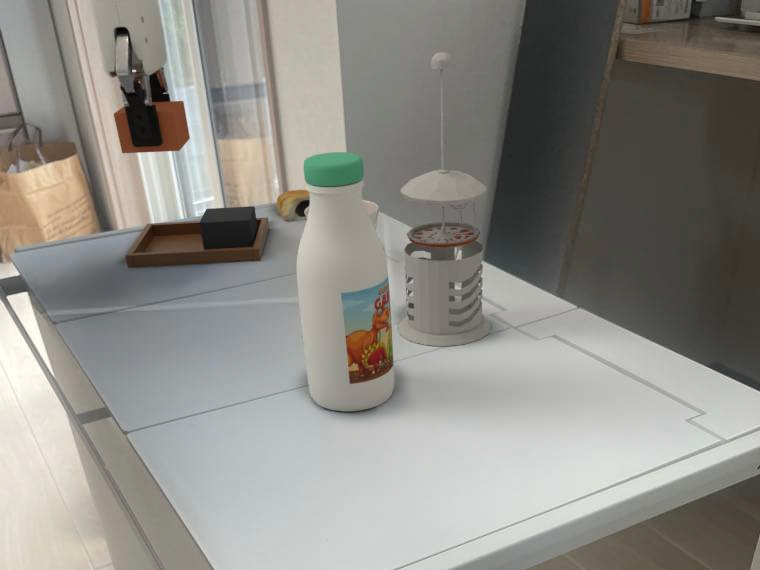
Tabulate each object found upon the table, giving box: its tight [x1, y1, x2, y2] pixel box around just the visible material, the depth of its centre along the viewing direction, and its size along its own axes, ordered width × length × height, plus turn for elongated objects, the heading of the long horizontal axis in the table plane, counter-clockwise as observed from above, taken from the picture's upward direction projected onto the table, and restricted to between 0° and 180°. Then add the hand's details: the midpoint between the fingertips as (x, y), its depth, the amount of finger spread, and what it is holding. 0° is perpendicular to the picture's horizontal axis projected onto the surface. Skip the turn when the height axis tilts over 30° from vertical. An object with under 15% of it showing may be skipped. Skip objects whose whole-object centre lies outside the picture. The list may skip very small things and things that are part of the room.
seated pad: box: [199, 205, 258, 250], centre depth 110 cm, size 6×6×4 cm
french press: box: [397, 51, 492, 347], centre depth 81 cm, size 10×12×25 cm
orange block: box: [113, 100, 191, 154], centre depth 94 cm, size 6×6×4 cm
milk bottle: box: [296, 151, 395, 412], centre depth 70 cm, size 8×8×20 cm
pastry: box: [275, 189, 310, 222], centre depth 122 cm, size 9×7×4 cm
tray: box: [124, 217, 270, 269], centre depth 110 cm, size 17×14×2 cm
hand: (154, 137), depth 95 cm, fingers closed on orange block, 6 cm apart
